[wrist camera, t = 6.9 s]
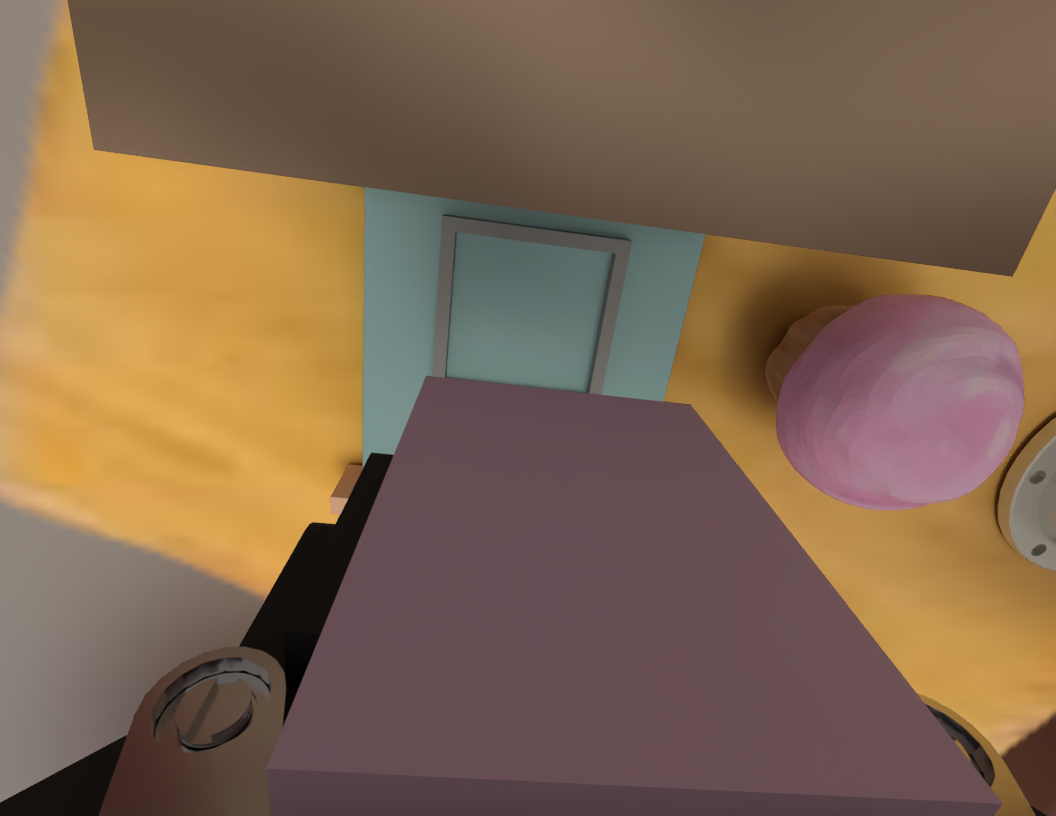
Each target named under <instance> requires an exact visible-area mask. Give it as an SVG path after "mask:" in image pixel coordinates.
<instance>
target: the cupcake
mask: <svg viewBox="0 0 1056 816" xmlns="http://www.w3.org/2000/svg"><path fill="white" fill-rule="evenodd" d="M765 375H766V379H767V383H768V386H769V389H770V391H771V393H772V395H773V397H774V399H775V401H776V403H777V418H776V428H777V436H778V441H779V444H780V446H781V449H782V450H783V452H784V454H785V456H786V457H787V459H788V460H789V462H790V463H791V465H792V466H793V468H794V469H795V470H796V471H797V472H798V473H799V474H800V475H801V476H802V477H803V478H804V479H806V480H807V481H808V482H809V483H811V484H812V485H813V486H815V487H816V488H817V489H819V490H820V491H821V492H823V493H825V494H827V495H829V496H831V497H833V498H834V499H836V500H839V501H842V502H844V503H847V504H850V505H854V506H858V507H862V508H866V509H871V510H903V509H911V508H916V507H921V506H925V505H928V504H931V503H939V502H945V501H950V500H953V499H957V498H959V497H962V496H964V495H966V494H968V493H970V492H971V491H973V490H974V489H976V488H977V487H978V486H980V485H981V484H982V483H983V482H984V481H985V480H986V479H987V478H988V477H989V476H990V475H991V474H992V473H993V472H994V471H995V470H996V469H997V467H998V466H999V465H1000V464H1001V462H1002V461H1003V460H1004V459H1005V457H1006V456H1007V455H1008V453H1009V451H1010V449H1011V448H1012V446H1013V444H1014V441H1015V438H1016V435H1017V431H1018V425H1019V423H1020V421H1021V419H1022V416H1023V409H1024V389H1023V373H1022V365H1021V360H1020V356H1019V352H1018V349H1017V346H1016V343H1015V342H1014V341H1013V340H1012V338H1011V337H1009V336H1008V335H1007V334H1006V333H1005V331H1004V330H1003V329H1002V328H1001V327H1000V326H999V325H998V324H997V323H995V322H994V321H992V320H991V319H989V318H988V317H987V316H986V315H985V314H983V313H981V312H979V311H977V310H975V309H973V308H971V307H968V306H966V305H963V304H961V303H959V302H956V301H953V300H949V299H946V298H943V297H936V296H929V295H884V296H878V297H874V298H870V299H868V300H866V301H864V302H862V303H859V304H857V305H856V306H845V305H843V306H824V307H821V308H819V309H817V310H815V311H814V312H812V313H810V314H809V315H808V316H806V317H804V318H801V319H799V320H797V321H796V322H794V323H793V324H791V325H790V327H789V329H788V332H787V334H786V335H785V337H784V338H783V340H782V342H781V343H780V344H779V345H778V346H777V347H776V348H775V349H774V350H773V352H772V353H771V354H770V356H769V357H768V359H767V362H766V365H765Z"/></svg>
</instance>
